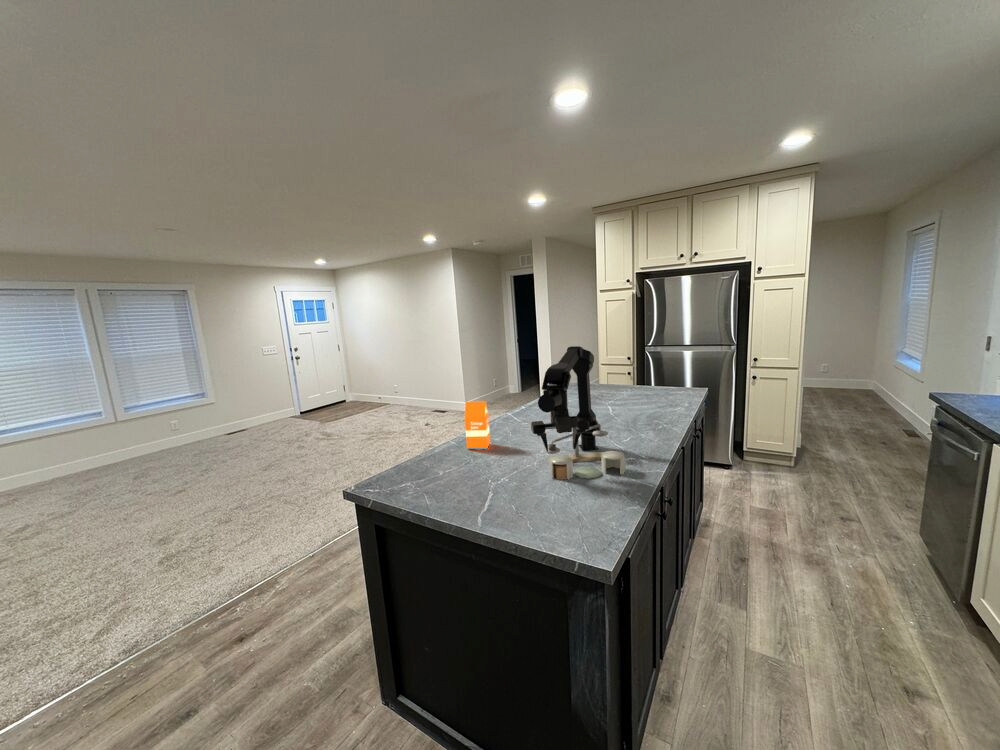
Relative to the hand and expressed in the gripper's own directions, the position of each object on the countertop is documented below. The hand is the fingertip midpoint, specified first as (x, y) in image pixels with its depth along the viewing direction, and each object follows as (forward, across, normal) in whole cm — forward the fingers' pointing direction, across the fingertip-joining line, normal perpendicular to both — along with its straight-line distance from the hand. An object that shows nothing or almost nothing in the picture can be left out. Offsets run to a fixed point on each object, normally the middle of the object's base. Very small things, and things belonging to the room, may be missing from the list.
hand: (560, 450), depth 135 cm
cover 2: (+9, +18, 0) cm, 20 cm away
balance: (+9, +9, +13) cm, 19 cm away
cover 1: (+9, 0, 0) cm, 9 cm away
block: (+9, 0, 0) cm, 9 cm away
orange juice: (+10, -27, +37) cm, 47 cm away
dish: (+9, +9, 0) cm, 13 cm away
